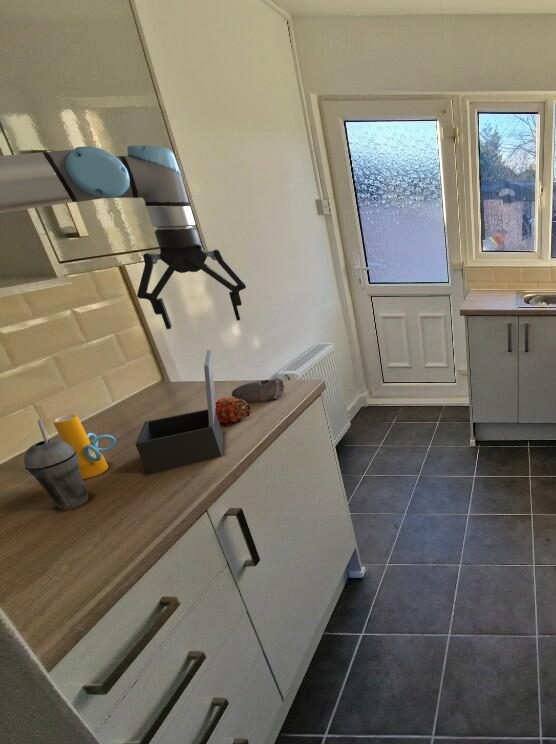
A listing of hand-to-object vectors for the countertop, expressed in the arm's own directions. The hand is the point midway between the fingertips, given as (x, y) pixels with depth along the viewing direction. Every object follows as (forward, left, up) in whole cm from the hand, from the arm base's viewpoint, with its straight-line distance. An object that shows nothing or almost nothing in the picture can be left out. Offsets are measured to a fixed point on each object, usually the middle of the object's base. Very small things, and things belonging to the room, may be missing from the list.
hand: (205, 323), depth 98 cm
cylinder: (-31, +2, -33) cm, 45 cm away
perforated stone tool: (+5, +26, -33) cm, 42 cm away
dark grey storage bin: (-12, 0, -33) cm, 35 cm away
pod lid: (-3, 0, -16) cm, 16 cm away
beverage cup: (-31, -11, -33) cm, 46 cm away
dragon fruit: (-3, +14, -33) cm, 36 cm away
